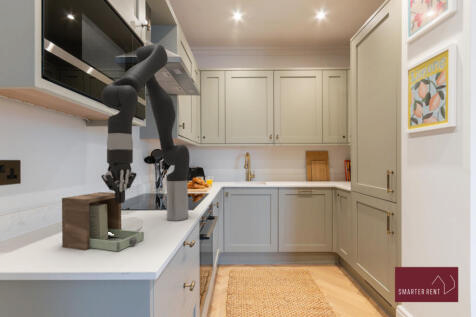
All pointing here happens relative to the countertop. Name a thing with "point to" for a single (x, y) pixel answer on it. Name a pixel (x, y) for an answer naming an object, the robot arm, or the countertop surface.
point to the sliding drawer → (130, 236)
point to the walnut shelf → (86, 217)
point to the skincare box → (98, 221)
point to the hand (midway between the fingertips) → (120, 203)
